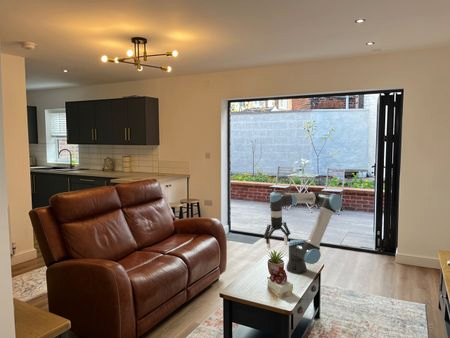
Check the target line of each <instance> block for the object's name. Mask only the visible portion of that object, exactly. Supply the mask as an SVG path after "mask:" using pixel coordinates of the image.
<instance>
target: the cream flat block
mask: <svg viewBox="0 0 450 338" xmlns="http://www.w3.org/2000/svg"><path fill="white" fill-rule="evenodd" d="M268 286H270V287H271V288H273V289H274V290H276V291H277V292H279V293H284V292H288V291H291V290H292V291H294V283H293V282H290V281H288V280H287V281H286V282H284V281H282V283H281V284H278V283H277V282H276V280H275V281H274V282H272V281H271V280H270V278H268V279H267V287H268Z"/></svg>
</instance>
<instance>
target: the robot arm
mask: <svg viewBox="0 0 450 338" xmlns="http://www.w3.org/2000/svg"><path fill="white" fill-rule="evenodd" d="M269 201H270V203H269V204H270V222H271V223H270V224H268V223H267V224H266V229H265V231H264V234H263V239H265V243H266V245H267V246H266V247H267V249H268V250H270V249H271V239H270V238H271V236H272V235H273V233H274V232H275V231H279V230H280V231H281V232H282V233H283V234H284V235H283V242H284V245H285V246H288V261H287V264H286V268H285V269H286V271H287V272H289V273H292V274H304V273H307V270H308V268H307V265H306V263H307V264H310V265H315V264H316V263H318V262H319V260H320V259H321V256H322V255H321V251H320V250H321V247H320V244H321V242H322V239H323V237H324V235H325V233H326V230H327V228H328V225H329V224H330V221H331V219H332V217H333V215H335V214H336V212H337V211H339V210H341V209H342V207H343V199H342V197H341V196H340V195H339V194H336V193H334V192H333V193H331V192H327V191H310V192H278V191H272V192H271V193H270V194H269ZM296 204H309V205H314V206H318V207H319V209H320V210H319V213H318V216H317V218H316V221H315V223H314V225H313V228H312V230H311V232H310V235H309V237H308V239H307V240H303V239H291V240H290V241H289V242H288V240H289V236H290V235H291V234H292V233H291V231H290V230H289V227H288V226H287V222H286V221H283V208H284V207H290V206H295V205H296Z"/></svg>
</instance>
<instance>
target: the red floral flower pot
mask: <svg viewBox="0 0 450 338" xmlns="http://www.w3.org/2000/svg"><path fill="white" fill-rule="evenodd" d="M269 279H270V280H271V281H272V282H274V281H275V280H276V282H277V283H278V284H281V283H282V281H284V282H286V281H288V275H287V272H286V270H285V269H284V267H283V266H280V265H277V264H274V263H271V264H270V276H269Z"/></svg>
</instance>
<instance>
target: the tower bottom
mask: <svg viewBox="0 0 450 338" xmlns="http://www.w3.org/2000/svg"><path fill="white" fill-rule="evenodd" d="M267 290H268V291H269V292H270V293H272V294H273V295H274V296H276V297H277V298H278V299H281V297H282V298H285V297H291V296H293V290H291V291H288V292H284V293H279V292H277V291H276V290H274V289H273V288H271V287H270V286H268V285H267Z"/></svg>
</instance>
